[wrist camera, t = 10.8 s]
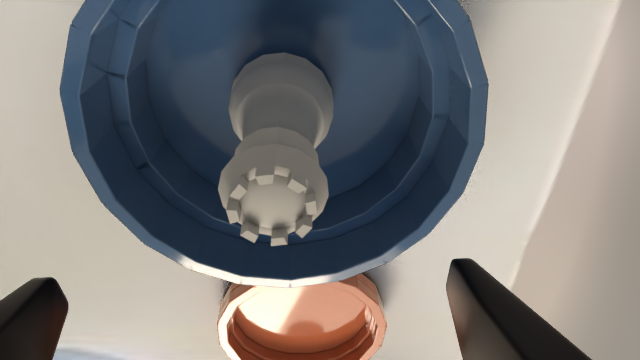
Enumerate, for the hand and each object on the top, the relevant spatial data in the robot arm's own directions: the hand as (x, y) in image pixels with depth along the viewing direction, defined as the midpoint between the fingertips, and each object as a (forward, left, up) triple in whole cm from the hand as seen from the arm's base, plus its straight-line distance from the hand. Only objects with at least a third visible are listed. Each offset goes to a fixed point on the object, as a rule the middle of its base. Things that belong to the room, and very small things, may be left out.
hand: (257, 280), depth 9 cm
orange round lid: (-13, -7, -11) cm, 18 cm away
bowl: (0, 0, -11) cm, 11 cm away
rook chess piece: (0, 0, -11) cm, 11 cm away
